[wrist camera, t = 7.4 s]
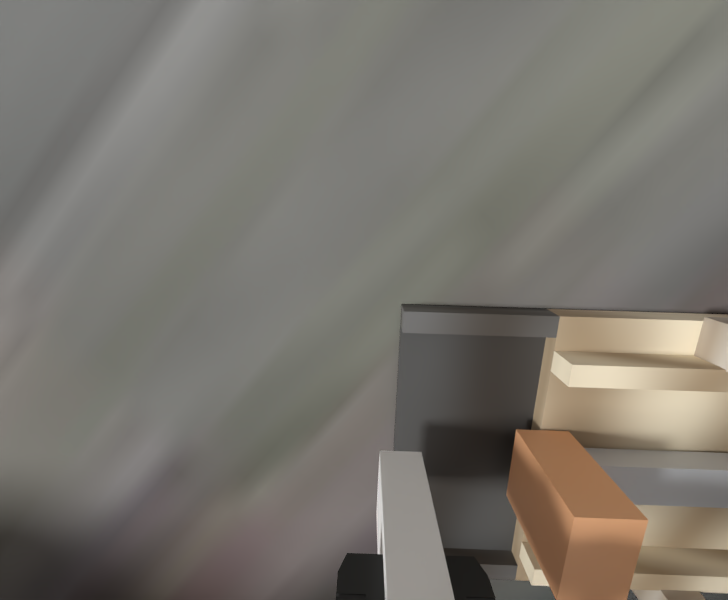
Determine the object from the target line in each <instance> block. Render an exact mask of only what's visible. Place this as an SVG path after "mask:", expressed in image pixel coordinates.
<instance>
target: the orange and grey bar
mask: <svg viewBox="0 0 728 600" xmlns="http://www.w3.org/2000/svg"><path fill="white" fill-rule="evenodd" d="M506 496H507V498H508V500H509V502H510V504H511V506H512V508H513V510H514V512H515V514H516V517H517V519H518V521H519V523H520V525H521V527H522V529H523V531H524V533H525V536H526V538H527V540H528V542H529V544H530V546H531V548H532V550H533V552H534V555H535V557H536V559H537V561H538V563H539V565H540V567H541V569H542V571H543V574H544V576H545V578H546V580H547V582H548V584H549V586H550V588H551V590H552V592H553V595H554V597H555V599H556V600H627V597H628V593H629V590H630V586H631V582H632V579H633V575H634V571H635V568H636V564H637V560H638V557H639V553H640V549H641V546H642V542H643V539H644V535H645V531H646V528H647V524H648V519H647V518H646V517H645V516H644V515H643V513H642V512H641V511H640V510H639V509H638V508H637V507H636V506H635V505H658V506H684V507H711V508H728V453H714V452H686V451H658V450H631V449H603V448H583V446H582V445H581V444H580V443H579V442H578V441H577V440H576V439H575V438H574V436H573V435H572V434H571V433H570V432H569V431H549V430H521V429H516V433H515V440H514V447H513V453H512V460H511V466H510V473H509V480H508V486H507V493H506Z"/></svg>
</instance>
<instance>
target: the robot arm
mask: <svg viewBox="0 0 728 600" xmlns="http://www.w3.org/2000/svg"><path fill="white" fill-rule="evenodd" d="M376 514H377V546H378V554H355V553H347V555H346V557H345V559H344V561H343V563H342V565H341V567H340V569H339V571H338V580H337V592H336V600H495V596H494V593H493V590H492V587H491V584H490V581H489V578H488V575H487V574H486V572H485V571H484V569H483V568H482V567H481V565H480V564H479V563H478V561H477V560H476V558H475V557H474V556H445V554H444V550H443V546H442V541H441V537H440V532H439V528H438V523H437V519H436V514H435V510H434V506H433V501H432V497H431V492H430V488H429V483H428V479H427V475H426V470H425V466H424V461H423V457H422V452H411V451H383V450H380V454H379V474H378V493H377V513H376Z"/></svg>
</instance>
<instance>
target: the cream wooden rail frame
mask: <svg viewBox="0 0 728 600" xmlns="http://www.w3.org/2000/svg"><path fill="white" fill-rule="evenodd" d="M516 429H521V430H549V431H569V432H570V433H571V434H572V435H573V436H574V438H575V439H576V440H577V441H578V442H579V443H580V444H581V445H582V446H583V448H603V449H631V450H658V451H686V452H714V453H728V314H696V313H664V312H632V311H600V310H568V309H536V308H504V307H472V306H440V305H408V304H402V306H401V325H400V343H399V361H398V379H397V397H396V416H395V434H394V451H411V452H422V457H423V461H424V466H425V470H426V475H427V479H428V483H429V488H430V492H431V497H432V501H433V506H434V510H435V514H436V519H437V523H438V528H439V532H440V537H441V541H442V546H443V550H444V554H445V556H474V557H475V558H476V560H477V561H478V563H479V564H480V565H481V567H482V568H483V569H484V571H485V572H486V574H487V575H488V578H489V579H499V580H523V581H530V583H531V585H534V586H549V584H548V582H547V580H546V578H545V576H544V574H543V571H542V569H541V567H540V565H539V563H538V561H537V559H536V557H535V555H534V552H533V550H532V548H531V546H530V544H529V542H528V540H527V538H526V536H525V533H524V531H523V529H522V527H521V525H520V523H519V521H518V519H517V517H516V514H515V512H514V510H513V508H512V506H511V504H510V502H509V500H508V498H507V496H506V493H507V486H508V480H509V473H510V466H511V460H512V453H513V447H514V440H515V433H516ZM635 506H636V507H637V508H638V509H639V510H640V511H641V512H642V513H643V515H644V516H645V517H646V518H647V519H648V524H647V528H646V531H645V535H644V539H643V542H642V546H641V549H640V553H639V557H638V560H637V564H636V568H635V571H634V575H633V579H632V582H631V586H630V589H631V590H632V591H633V592H634V594H635V595H636V597H637V598H638V600H706V599H705V598H704V597H703V596H702V594H701V593H700V592H704V593H728V508H711V507H684V506H658V505H635Z"/></svg>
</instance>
